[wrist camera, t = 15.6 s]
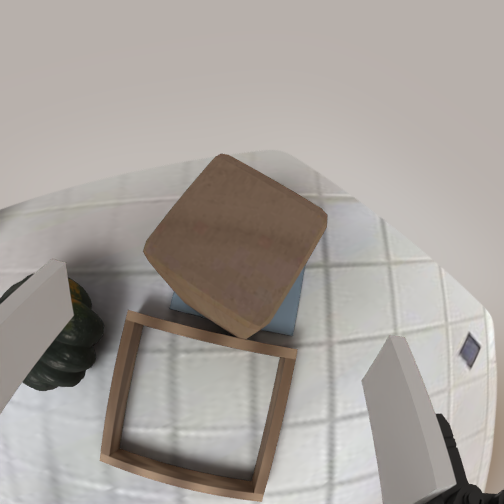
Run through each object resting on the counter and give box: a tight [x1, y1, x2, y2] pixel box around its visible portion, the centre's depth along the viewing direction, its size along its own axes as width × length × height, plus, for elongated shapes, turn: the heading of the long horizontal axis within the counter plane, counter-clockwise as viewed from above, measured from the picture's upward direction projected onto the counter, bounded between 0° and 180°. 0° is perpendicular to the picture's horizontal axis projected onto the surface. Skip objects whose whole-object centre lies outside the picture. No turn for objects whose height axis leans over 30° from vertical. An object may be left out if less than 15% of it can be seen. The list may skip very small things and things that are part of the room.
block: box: [143, 154, 327, 340], centre depth 30 cm, size 10×10×20 cm
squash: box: [0, 273, 104, 391], centre depth 30 cm, size 14×15×15 cm
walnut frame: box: [100, 310, 298, 502], centre depth 32 cm, size 20×20×4 cm
